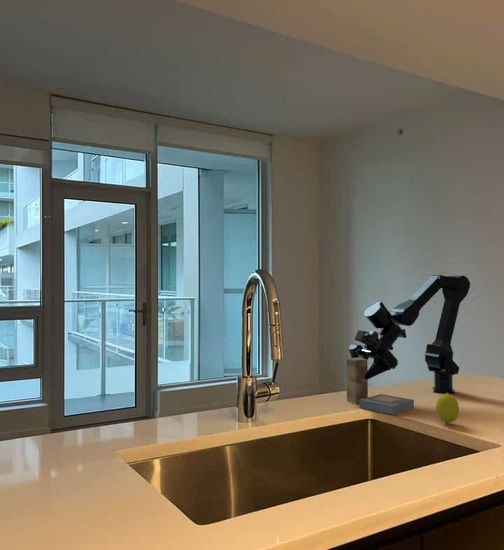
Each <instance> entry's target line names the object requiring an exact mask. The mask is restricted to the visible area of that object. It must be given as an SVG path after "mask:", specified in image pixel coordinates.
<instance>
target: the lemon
mask: <svg viewBox="0 0 504 550" xmlns="http://www.w3.org/2000/svg"><path fill="white" fill-rule="evenodd" d="M435 411H436V415H437V416H438V418H439V419H440V420H441V421H442V422H444V423H445V425H450V424H452V422H453V423H454V422H455V421H456V420H457V419H458V417H459V413H460V406H459V402H458V400H457V399H456V397H455V396H453V395H452V394H451V393H444V394H442V395H440V396H439V397H438V399H437V400H436V405H435Z"/></svg>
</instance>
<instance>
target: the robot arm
mask: <svg viewBox="0 0 504 550" xmlns="http://www.w3.org/2000/svg"><path fill="white" fill-rule="evenodd" d="M470 288H471V282H470V280H469V277H467V276H466V275H448V276H447V275H443V274H433V275H430V276H429V277H428V279H427V280H426V282H424V283H423V285H421V286H420V288H418V289H417V291H415V293H414V294H413V295H411V297H409V298H408V299H407V300H406V301H404V302H401V303H399V304H397V305H396V306H394V307H393V308H392V309H391V310H388V308H387V307H386V306H385V304H384V303H383V302H382V301H377V302H376V303H374V304H372V305H371V306H369V307H367V308H366V309H365V311H364V317H365V318H366V319H367V320H368V321H369V322H370V323H371V324H372V326H373V327H374V328H375V329H380V330H379V331H376V330H371V331H370V332H369V331H366V330H362V329H361V330H359V329H358V330H357V332H356V333H355V337H354V341H356V342H357V341H358V342H360V343H362V345H361V344H356V343H352V344H350V346H349V347H348V348H347V350H348V353H349V354H350V358H358V357H359V358H363V359H367V361H368V360H369V358H370V359H373V362H372V364H371V365H370V367H369V368H368V372H367V373H366V375H365V377H364V378H365V379H366V380H368V381H369V380H370V379H372V378H375V377H376V376H378V375H380V374H383V373H386V372H388V371H391V370H395V369H396V368H397V367H398V365H399V360H398V358H397V357H396V356H395V355H394V354H393V353H392V352H391V351H393V350H394V346H393V345H394V343H395V342H396V341H397V340H398V338H403V339H406V338H407V333H406V329H405V328H402V327H401V326H403V327H404V326H407V327H410V326H412V325H414V324H415V322H416V321H417V319H418V318H419V316H420V311H421V309H422V308H423V307H424V306H425V305H426V304H427V303H428V302H429V301H431V299H432V298H433V297H434V296H435V295H436V294H437V293H438V292H439V291H440V290H441V291H442V295H443V298H444V303H443V304H442V305H443V306H442V310H441V312H440V313H441V314H440V318H439V323H438V326H437V331H436V335H435V338H434V341H433V342H432V343H427V345H426V349H425V353H424V354H423V356H424V361H425V363H426V365H427V368H428V371H429V372H434V373H433V375H434V376H433V377H434V379H433V381H434V384H433V385H434V386H432V391H433V393H444V394H446V393H449V394H455V392H456V391H455V389H454V386H453V384H454V383H453V382H454V381H453V380H454V379H453V376H455V375H458V374H459V372H460V367H459V366H458V364H457V363H456V362H455V361H454V360H453V359H454V352H453V347H452V339H453V334H454V332H455V331H454V330H455V326H456V323H457V318H458V314H459V309H460V304H461V303H462V301H464V299H465V298H466V297H467V296H468V294H469V292H470V291H469V290H470Z"/></svg>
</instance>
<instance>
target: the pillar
mask: <svg viewBox="0 0 504 550" xmlns="http://www.w3.org/2000/svg"><path fill="white" fill-rule="evenodd" d="M368 370H369V368H368V360H367V359H363V358H359V357H358V358H351V357H347V358H346V401H348V402H349V403H352V404H355V403H357V404H360V399H364V398H368V397H369V394H368V393H369V391H368V390H369V387H368V385H369V382H368V381H369V379H368V380H366V379H365V378H364V377H365V375H366V373H367V372H368Z"/></svg>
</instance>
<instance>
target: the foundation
mask: <svg viewBox="0 0 504 550" xmlns="http://www.w3.org/2000/svg"><path fill="white" fill-rule="evenodd" d="M412 408H413V409H414V408H415V399H412V398H405V397H401V396H396V395H394V396H393V395H390V394H383V393H380V394H375V395H371V396H368V398H364V399H360V403H359V409H362V410H363V409H364V410H367V411H373V412H376V413H382V414H386V415H387V414H388V415H391V416H394V415H398V414H401V413H403V412H405V411H410V410H412ZM409 409H410V410H409Z"/></svg>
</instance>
